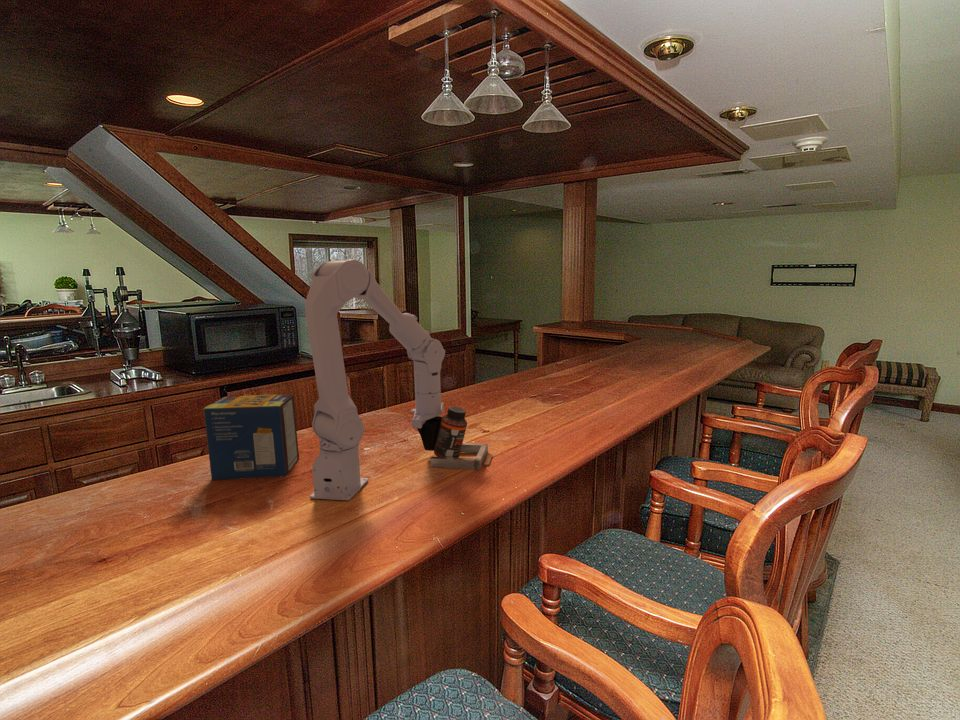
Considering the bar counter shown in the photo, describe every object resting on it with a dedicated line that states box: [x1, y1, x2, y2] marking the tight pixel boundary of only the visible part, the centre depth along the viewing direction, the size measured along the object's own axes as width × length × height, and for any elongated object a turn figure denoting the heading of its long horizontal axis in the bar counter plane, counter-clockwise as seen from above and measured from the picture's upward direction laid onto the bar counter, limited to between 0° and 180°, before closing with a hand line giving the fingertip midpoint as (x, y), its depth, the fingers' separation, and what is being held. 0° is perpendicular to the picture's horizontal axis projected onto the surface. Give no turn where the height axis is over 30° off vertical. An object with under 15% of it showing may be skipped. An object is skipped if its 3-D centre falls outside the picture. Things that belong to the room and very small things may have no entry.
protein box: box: [202, 393, 300, 481], centre depth 107 cm, size 10×15×16 cm
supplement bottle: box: [433, 405, 468, 458], centre depth 111 cm, size 6×6×11 cm
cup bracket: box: [430, 442, 494, 471], centre depth 111 cm, size 11×12×2 cm
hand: (430, 449), depth 113 cm, fingers closed, pressing on supplement bottle
